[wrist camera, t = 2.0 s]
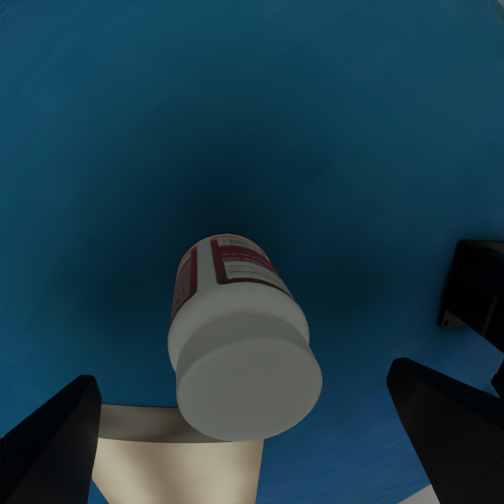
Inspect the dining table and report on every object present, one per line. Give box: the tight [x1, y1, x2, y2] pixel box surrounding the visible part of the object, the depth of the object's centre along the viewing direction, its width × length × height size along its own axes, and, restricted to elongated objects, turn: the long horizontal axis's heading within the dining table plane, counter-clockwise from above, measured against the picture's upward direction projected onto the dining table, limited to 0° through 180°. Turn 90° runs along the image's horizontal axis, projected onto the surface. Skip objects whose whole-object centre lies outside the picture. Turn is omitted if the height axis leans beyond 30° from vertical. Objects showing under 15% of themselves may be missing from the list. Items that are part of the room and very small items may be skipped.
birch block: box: [92, 404, 264, 504], centre depth 18 cm, size 12×12×3 cm
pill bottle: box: [168, 234, 322, 442], centre depth 12 cm, size 5×5×8 cm
